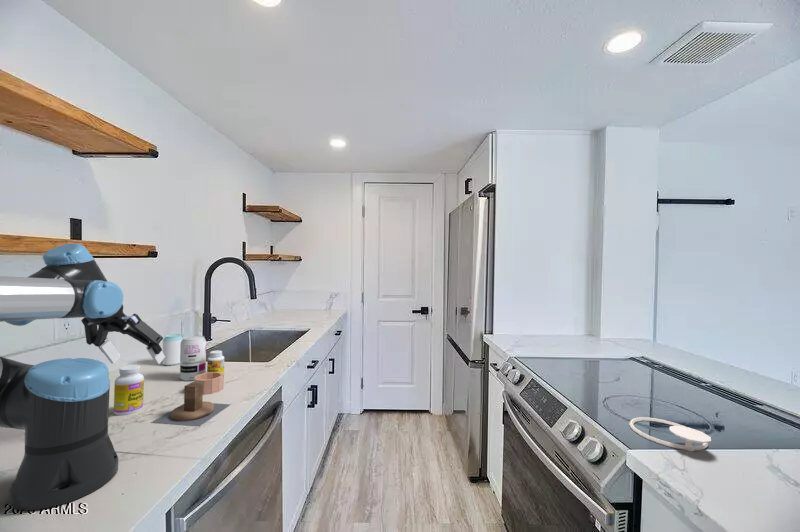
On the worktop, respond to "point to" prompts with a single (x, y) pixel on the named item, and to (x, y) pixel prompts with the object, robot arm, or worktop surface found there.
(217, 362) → the supplement bottle
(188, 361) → the supplement can
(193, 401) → the lid
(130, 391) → the supplement bottle
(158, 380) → the worktop surface
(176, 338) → the can
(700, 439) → the hand towel holder
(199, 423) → the mat
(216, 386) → the bowl
